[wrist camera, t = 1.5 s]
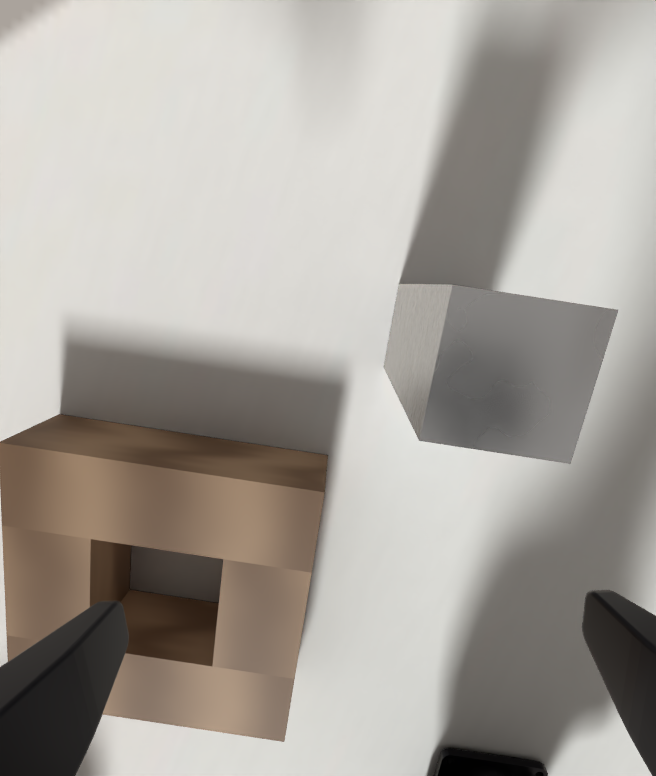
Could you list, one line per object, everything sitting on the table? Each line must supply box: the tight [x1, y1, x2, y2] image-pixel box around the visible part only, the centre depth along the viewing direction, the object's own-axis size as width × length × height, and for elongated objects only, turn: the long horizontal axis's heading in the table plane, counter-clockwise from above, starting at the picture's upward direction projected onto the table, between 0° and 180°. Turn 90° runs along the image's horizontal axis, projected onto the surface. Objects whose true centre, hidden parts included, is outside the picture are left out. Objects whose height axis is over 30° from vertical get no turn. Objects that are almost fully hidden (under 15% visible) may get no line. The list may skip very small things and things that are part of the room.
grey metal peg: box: [384, 284, 618, 464], centre depth 15 cm, size 4×4×10 cm
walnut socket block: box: [0, 414, 328, 742], centre depth 22 cm, size 14×14×4 cm
